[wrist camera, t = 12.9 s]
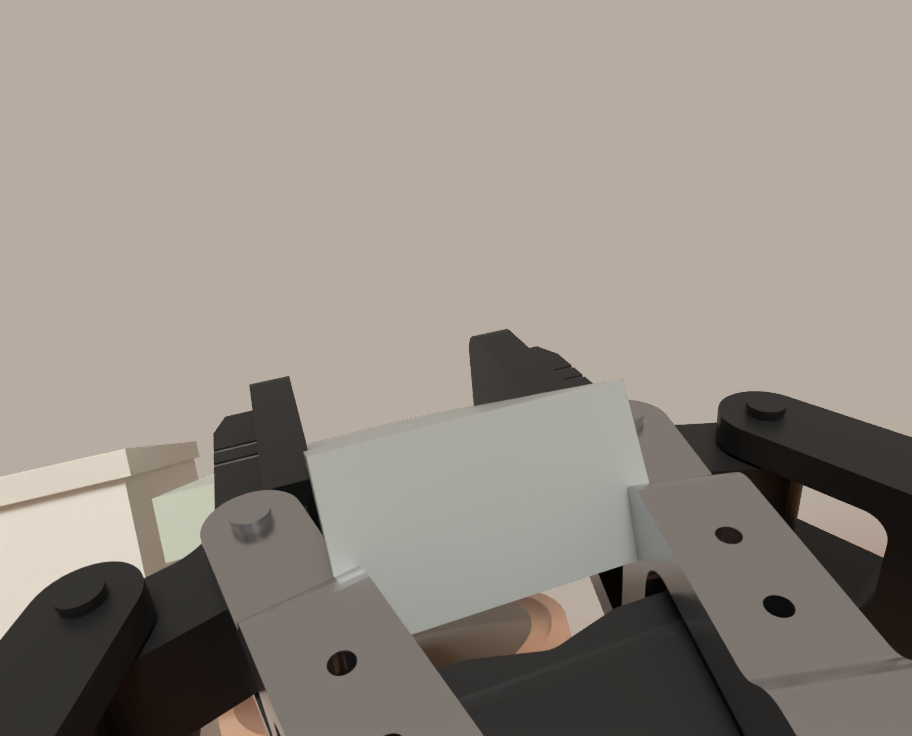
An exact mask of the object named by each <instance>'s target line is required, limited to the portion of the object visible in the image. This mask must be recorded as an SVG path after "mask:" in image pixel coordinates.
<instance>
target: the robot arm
mask: <svg viewBox="0 0 912 736" xmlns="http://www.w3.org/2000/svg"><path fill="white" fill-rule="evenodd" d="M469 354H470V366H471V377H472V389H473V400H474V406H477V405H482V404H488V403H493V402H498V401H504V400H509V399H515V398H520V397H525V396H531V395H535V394H540V393H546V392H551V391H556V390H562V389H567V388H572V387H578V386H583V385H588V384H593V383H592V382H590V381H589V380H588V379H587V378H586V377H583V376H582V374H581V373H580V372H578V371H577V370H576V369H575V368H572V367H571V365H570V364H569V363H568V362H567V361H565V360H564V359H563V358H562V357H561V356H560V355H559V354H556V353H554V352H551V351H548V350H545V349H543V348H540V347H532V348H528V347H527V346H526V345H525V344H524V343H523V342H522V341H521V340H520V339H518V338H517V337H516V336H515V335H514V334H513V333H512V332H511V331H510V330H508V329H504V330H500V331H496V332H491V333H486V334H482V335H477V336H472V337H471V338H470V342H469ZM250 393H251V401H252V409H253V411H249V412H244V413H240V414H235V415H231V416H227V417H225V418H224V420H223V421H222V422H221V424H220V425H219V427H218V428H217V429H216V431H215V432H214V466H215V467H214V498H215V510H214V511H213V512H212V513H211V514H210V515H209V516H208V517H207V518H206V520H205V521H204V523H203V525H202V528H201V530H200V538H201V542H202V543H201V544H200V545H199V546H198V547H197V548H196V549H195V550H194V551H192V552H191V553H190V554H188V555H187V556H185V557H184V558H182V559H181V560H179V561H177V562H175V563H174V564H172V565H170V566H168V567H166V568H164V569H162V570H160V571H158V572H156V573H154V574H152V575H150V576H148V577H146V578H144V577H143V575H142V573H141V571H140V570H139V569H138V568H137V567H135V566H134V565H132V564H129V563H126V562H120V561H110V562H101V563H96V564H92V565H89V566H85V567H82V568H80V569H77V570H75V571H72V572H70V573H68V574H66V575H64V576H62V577H61V578H59V579H58V580H56V581H54V582H53V583H51V584H50V585H49V586H47V587H46V588H45V589H43V590H42V591H41V592H40V593H39V594H38V595H37V596H36V597H35V598H34V599H33V600H32V601H31V602H30V603H29V604H28V606H27V607H26V608H25V609H24V611H23V612H22V613H21V614H20V616H19V617H18V618H17V619H16V621H15V622H14V623H13V625H12V626H11V627H10V628H9V630H8V631H7V632H6V633H5V635H4V636H3V637H2V638H1V640H0V736H200V732H201V728H202V727H204V726H205V725H207V724H209V723H210V722H212V721H213V720H215V719H216V718H218V717H220V716H221V715H223V714H224V713H226V712H227V711H229V710H231V709H232V708H234V707H235V706H237V705H238V704H240V703H242V702H243V701H245V700H246V699H248V698H249V697H251V696H253V698H254V700H255V703H256V705H257V708H258V710H259V713H260V716H261V718H262V721H263V723H264V726H265V728H266V731H267V733H268V736H912V437H909V436H906V435H903V434H900V433H897V432H894V431H891V430H888V429H885V428H882V427H879V426H876V425H872V424H870V423H866V422H863V421H860V420H857V419H854V418H851V417H848V416H845V415H842V414H839V413H836V412H833V411H830V410H827V409H824V408H821V407H818V406H815V405H812V404H808V403H806V402H802V401H799V400H797V399H793V398H790V397H787V396H784V395H780V394H776V393H770V392H760V391H749V392H741V393H736V394H733V395H730V396H728V397H726V398H724V399H723V400H722V401H721V402H720V404H719V407H718V417H717V423H704V424H687V425H674V424H673V423H672V421H671V420H670V419H669V417H668V416H667V415H666V414H665V413H664V412H663V411H661V410H660V409H658V408H657V407H655V406H653V405H650V404H647V403H644V402H640V401H634V400H628V401H629V405H630V409H631V413H632V417H633V421H634V424H635V428H636V432H637V436H638V440H639V444H640V448H641V452H642V456H643V460H644V464H645V468H646V472H647V476H648V480H649V483H647V484H640V485H632V486H628V487H627V493H628V500H629V507H630V514H631V520H632V527H633V534H634V541H635V548H636V555H637V561H635V562H632V563H628V564H625V565H622V566H619V567H616V568H613V569H610V570H607V571H604V572H601V573H598V574H595V575H592V576H590V579H591V581H592V584H593V586H594V589H595V591H596V594H597V596H598V599H599V601H600V604H601V607H602V609H603V612H604V614H605V615H604V616H603V617H601V618H600V619H598V620H597V621H595V622H594V623H592V624H591V625H589V626H588V627H586V628H585V629H583V630H582V631H580V632H579V633H577V634H576V635H574V636H573V637H571V638H570V639H568V640H566V641H565V642H563V643H562V644H560V645H559V646H557V647H555V648H553V649H550V650H545V651H538V652H529V653H520V654H512V655H503V656H494V657H485V658H476V659H468V660H463V661H460V662H457V663H455V664H452V665H449V666H446V667H443V668H440V669H437V670H436V669H435V667H434V666H433V664H432V663H431V662H430V660H429V659H428V657H427V656H426V655H425V653H424V652H423V650H422V649H421V648H420V646H419V645H418V643H417V642H416V641H415V639H414V638H413V636H412V635H411V634H410V632H409V631H408V629H407V628H406V627H405V625H404V624H403V623H402V621H401V620H400V618H399V617H398V616H397V614H396V613H395V611H394V610H393V609H392V607H391V606H390V604H389V603H388V602H387V600H386V599H385V597H384V596H383V595H382V593H381V592H380V590H379V589H378V588H377V586H376V585H375V584H374V582H373V581H372V579H371V578H370V577H369V575H368V574H367V573H366V571H365V570H364V569H363V568H361V567H359V566H357V567H355V568H353V569H351V570H348V571H346V572H344V573H342V574H340V575H338V576H336V577H333V573H332V568H331V564H330V560H329V556H328V552H327V548H326V544H325V540H324V537H323V535H322V532H321V527H320V523H319V518H318V514H317V509H316V505H315V500H314V496H313V491H312V487H311V483H310V478H309V474H308V470H307V466H306V462H305V457H304V453H303V452H304V451H308V448H307V445H306V441H305V437H304V433H303V429H302V425H301V421H300V417H299V413H298V409H297V405H296V402H295V398H294V394H293V390H292V386H291V382H290V378H289V376H287V377H283V378H278V379H273V380H268V381H264V382H259V383H255V384H250ZM803 485H804V486H807V487H809V488H812V489H814V490H817V491H819V492H821V493H824V494H826V495H828V496H831V497H833V498H836V499H838V500H840V501H843V502H845V503H848V504H850V505H852V506H855V507H857V508H860V509H862V510H864V511H867V512H868V513H870V514H871V515H873V516H874V517H875V518H877V519H878V520H879V522H881V524H882V525H883V527H884V529H885V530H886V533H887V536H888V542H887V547H886V551H885V555H884V558H883V557H880V556H878V555H876V554H874V553H872V552H870V551H867V550H865V549H863V548H861V547H859V546H856V545H854V544H852V543H850V542H848V541H845V540H843V539H841V538H839V537H837V536H835V535H832V534H830V533H828V532H825V531H823V530H821V529H819V528H817V527H815V526H813V525H810V524H808V523H806V522H804V521H802V520H799V519H797V516H798V510H799V505H800V499H801V493H802V488H803Z"/></svg>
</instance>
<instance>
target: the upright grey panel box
mask: <svg viewBox="0 0 912 736" xmlns="http://www.w3.org/2000/svg"><path fill="white" fill-rule="evenodd" d="M197 457H199V453H198V448H197V444H196V442H186V443H177V444H166V445H157V446H147V447H137V448H127V449H122V450H117V451H113V452H108V453H104V454H99V455H95V456H91V457H86V458H82V459H77V460H73V461H68V462H64V463H59V464H55V465H51V466H46V467H42V468H38V469H33V470H28V471H24V472H19V473H15V474H11V475H6V476H2V477H0V640H1V638H2V637H3V636H4V635H5V633H6V632H7V631H8V630H9V628H10V627H11V626H12V625H13V623H14V622H15V621H16V619H17V618H18V617H19V616H20V614H21V613H22V612H23V611H24V609H25V608H26V607H27V606H28V604H29V603H30V602H31V601H32V600H33V599H34V598H35V597H36V596H37V595H38V594H39V593H40V592H41V591H42V590H43V589H45V588H46V587H47V586H49V585H50V584H51V583H53V582H54V581H56V580H58V579H59V578H61V577H62V576H64V575H66V574H68V573H70V572H72V571H75V570H77V569H80V568H82V567H85V566H89V565H92V564H96V563H101V562H110V561H120V562H126V563H129V564H132V565H134V566H135V567H137V568H138V569H139V570H140V571H141V573H142V575H143V577H144V578H146V577H148V576H150V575H152V574H154V573H156V572H158V571H160V570H162V569H164V568H166V567H168V566H170V565H172V564H174V563H175V562H177V561H179V560H181V559H179V560H176V561H172V562H168V563H166V562H165V558H164V553H163V548H162V544H161V539H160V535H159V530H158V525H157V521H156V516H155V512H154V507H153V502H152V499H153V498H155V497H158V496H160V495H162V494H165V493H167V492H170V491H172V490H174V489H177V488H179V487H182V486H184V485H186V484H189V483H191V482H194V481H196V480H198V476H197V471H196V466H195V462H194V458H197ZM200 736H221V732H220V727H219V722H218V718H216V719H215V720H213V721H212V722H210V723H209V724H207V725H205V726H204V727H202V728H201V732H200Z"/></svg>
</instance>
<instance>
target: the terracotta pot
mask: <svg viewBox="0 0 912 736" xmlns="http://www.w3.org/2000/svg"><path fill="white" fill-rule="evenodd" d="M412 636H413V638H414V639H415V641H416V642H417V643H418V645H419V646H420V648H421V649H422V650H423V652H424V653H425V655H426V656H427V657H428V659H429V660H430V662H431V663H432V664H433V666H434V667H435V669H436V670H437V669H440V668H443V667H446V666H449V665H452V664H455V663H457V662H460V661H463V660H468V659H476V658H485V657H494V656H503V655H512V654H520V653H529V652H538V651H545V650H550V649H553V648H555V647H557V646H559V645H560V644H562V643H563V642H565V641H566V640H568V639H570V638H571V635H570V631H569V626H568V622H567V618H566V614H565V611H564V610H563V608H562V606H561V605H560V604H559V603H558V602H556V601H555V600H554V599H552V598H550V597H548V596H546V595H544V594H541V593H537V594H534V595H531V596H528V597H525V598H522V599H519V600H516V601H513V602H510V603H507V604H504V605H501V606H497V607H494V608H491V609H488V610H485V611H482V612H479V613H476V614H473V615H470V616H467V617H464V618H461V619H458V620H455V621H452V622H449V623H446V624H443V625H440V626H437V627H433V628H430V629H427V630H424V631H421V632H418V633H415V634H412ZM218 722H219V727H220V732H221V736H268V733H267V731H266V728H265V726H264V723H263V721H262V718H261V716H260V713H259V710H258V708H257V705H256V703H255V700H254V698H253V696H251V697H249V698H248V699H246V700H245V701H243V702H242V703H240V704H238V705H237V706H235V707H234V708H232V709H231V710H229V711H227V712H226V713H224V714H223V715H221V716H220V717H218Z"/></svg>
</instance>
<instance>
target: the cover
mask: <svg viewBox="0 0 912 736" xmlns="http://www.w3.org/2000/svg"><path fill="white" fill-rule="evenodd" d="M306 445H307V448H308V451H304V452H303V453H304V457H305V462H306V466H307V470H308V474H309V478H310V483H311V487H312V491H313V496H314V500H315V505H316V509H317V514H318V518H319V523H320V527H321V532H322V535H323V537H324V540H325V544H326V548H327V552H328V556H329V560H330V564H331V568H332V573H333V577H336V576H338V575H340V574H342V573H344V572H346V571H348V570H351V569H353V568H355V567H357V566H359V567H361V568H363V569H364V570H365V571H366V573H367V574H368V575H369V577H370V578H371V579H372V581H373V582H374V584H375V585H376V586H377V588H378V589H379V590H380V592H381V593H382V595H383V596H384V597H385V599H386V600H387V602H388V603H389V604H390V606H391V607H392V609H393V610H394V611H395V613H396V614H397V616H398V617H399V618H400V620H401V621H402V623H403V624H404V625H405V627H406V628H407V629H408V631H409V632H410V634H411V635H412V634H415V633H418V632H421V631H424V630H427V629H430V628H433V627H437V626H440V625H443V624H446V623H449V622H452V621H455V620H458V619H461V618H464V617H467V616H470V615H473V614H476V613H479V612H482V611H485V610H488V609H491V608H494V607H497V606H501V605H504V604H507V603H510V602H513V601H516V600H519V599H522V598H525V597H528V596H531V595H534V594H537V593H540V592H543V591H546V590H549V589H552V588H555V587H558V586H561V585H564V584H567V583H571V582H573V581H577V580H580V579H583V578H586V577H589V576H592V575H595V574H598V573H601V572H604V571H607V570H610V569H613V568H616V567H619V566H622V565H625V564H628V563H632V562H635V561H637V555H636V548H635V541H634V534H633V527H632V520H631V514H630V507H629V500H628V493H627V487H628V486H632V485H640V484H647V483H649V480H648V476H647V472H646V468H645V464H644V460H643V456H642V452H641V448H640V444H639V440H638V436H637V432H636V428H635V424H634V421H633V417H632V413H631V409H630V405H629V401H628V397H627V393H626V389H625V385H624V381H623V378H621V379H615V380H610V381H604V382H600V383H594V384H588V385H583V386H578V387H572V388H567V389H562V390H556V391H551V392H546V393H540V394H535V395H531V396H525V397H520V398H515V399H509V400H504V401H498V402H493V403H488V404H482V405H477V406H471V407H466V408H460V409H455V410H450V411H444V412H438V413H433V414H428V415H423V416H419V417H415V418H411V419H407V420H402V421H398V422H394V423H390V424H387V425H382V426H378V427H374V428H370V429H366V430H362V431H357V432H353V433H350V434H346V435H341V436H337V437H333V438H329V439H325V440H321V441H317V442H312V443H308V444H306ZM152 502H153V507H154V512H155V516H156V521H157V525H158V530H159V535H160V539H161V544H162V548H163V553H164V558H165V562H166V563H168V562H172V561H176V560H179V559H182V558H184V557H185V556H187V555H188V554H190V553H191V552H192V551H194V550H195V549H196V548H197V547H198V546H199V545H200V544H201V543H202V542H201V538H200V530H201V528H202V525H203V523H204V521H205V520H206V518H207V517H208V516H209V515H210V514H211V513H212V512H213V511H214V510H215V498H214V473H213V474H211V475H208V476H206V477H203V478H201V479H198V480H196V481H194V482H191V483H189V484H186V485H184V486H182V487H179V488H177V489H174V490H172V491H170V492H167V493H165V494H162V495H160V496H158V497H155V498H153V499H152Z"/></svg>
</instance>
